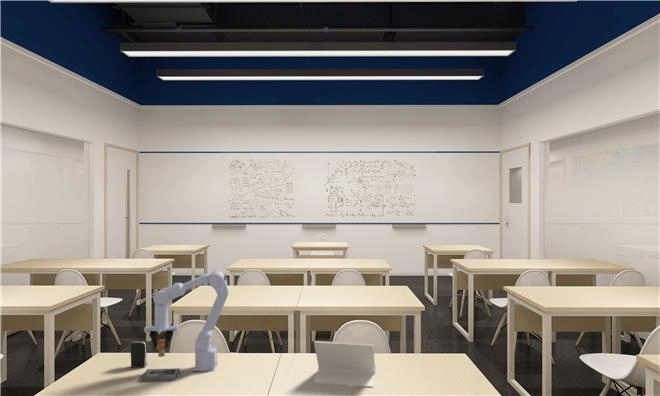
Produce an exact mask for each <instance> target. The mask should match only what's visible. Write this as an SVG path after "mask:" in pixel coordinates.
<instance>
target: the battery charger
mask: <svg viewBox="0 0 660 396" xmlns="http://www.w3.org/2000/svg"><path fill="white" fill-rule="evenodd" d="M148 352H149V345H148V342H147V341H146V340H135V341H133V342H132V343H131V344H130V367H131V368H145V367H146V366H148V365H147V364H148V363H147V353H148Z"/></svg>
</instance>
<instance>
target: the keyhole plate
mask: <svg viewBox="0 0 660 396" xmlns="http://www.w3.org/2000/svg"><path fill="white" fill-rule="evenodd" d="M179 375H181V368H179V367H178V368H148V369H146V370H145V372H143V373H142V374H141V375H140V377H139V378H140V379H139V381H140V383H141V382H143V383H144V382H173V381H176V380H177V377H179Z"/></svg>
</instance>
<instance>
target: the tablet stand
mask: <svg viewBox="0 0 660 396" xmlns="http://www.w3.org/2000/svg"><path fill="white" fill-rule="evenodd" d="M313 345H314V350H315V354H316V356H315V357H316V360H317V366H318V371H317V373H316V375H315V377H314V378H313V384H316V385H318V384H319V385H329V386H342V385H352V386H351V387H355V386H367V387H366V388H369V387H372V388H374V385H375V378H374V377H376V371H377V370H376V367H377V365H376V363H375V352H374V351H375V350H374V349H375V348H374V344H372V343H357V342H356V343H355V342H345V341H344V342H341V341H324V340H323V341H322V340H315V341H313ZM373 384H374V385H373Z"/></svg>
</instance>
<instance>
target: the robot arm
mask: <svg viewBox="0 0 660 396" xmlns="http://www.w3.org/2000/svg"><path fill="white" fill-rule="evenodd" d="M227 280H228V279H227V277H226V275H225V274H224V272H223V271H222V270H221V269H219V270H218V269H217V270H213V272H212V271H211V272H208V273H204V274H202V275H200V276H197V277H195V278H193V279H191V280H189V281H187V282H184V283H182V282H175V283H173V284H172V285H170V286H168V287H163V288H162V289H160V290H158V291H157V292H156V293H154V295H153V298H152V299H153V302H154V325H151V326H145V327H144V329H143V330H144V332H143V333H148V336H149V338H150V339H151V340H152V343H153V347H154V349H156V350H157V341H158V340H159V332H163V333H164V338H165V339H164V340H166V344H165V347H166V349H168V348H169V346H170V342H171V338H172V336H173V335H174V332H176V333H177V332H179V330H180V326H179V325H169V301H172V300H174V299H176V298H178V297H181V296H183V295H185V293H186V291H188V290H191V289H193V288H196V287H198V286H199V287H200V286H201V285H203V286H204V285H205V286H209V285H210V287H212V289H214V290H215V292H216V298H215V299H214V303H213V304H212V307H211V309H210V311H209V314H208V316H207V317H206V318H207V319H206V321H205V324H204V326H203V328H202V329H201V331H200V332H199V333H198V334H197V338H196V339H195V342H194V346H195V348H194V355H195V356H194V358H195V359H194V363H195V365H194V367H193V369H192V372H206V371H207V372H210V371H214V370H215V369H216V367H217V366H218V349H217V347H213V346H212V345H211V341H212V334H213V331H214V329H215V326H216V324H217V323H218V319H219V317H220V315H221V312H222V310H223V307H224V306H225V303H226V301H227V298H228V296H229V293H230V291H229V286H228V281H227Z"/></svg>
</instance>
